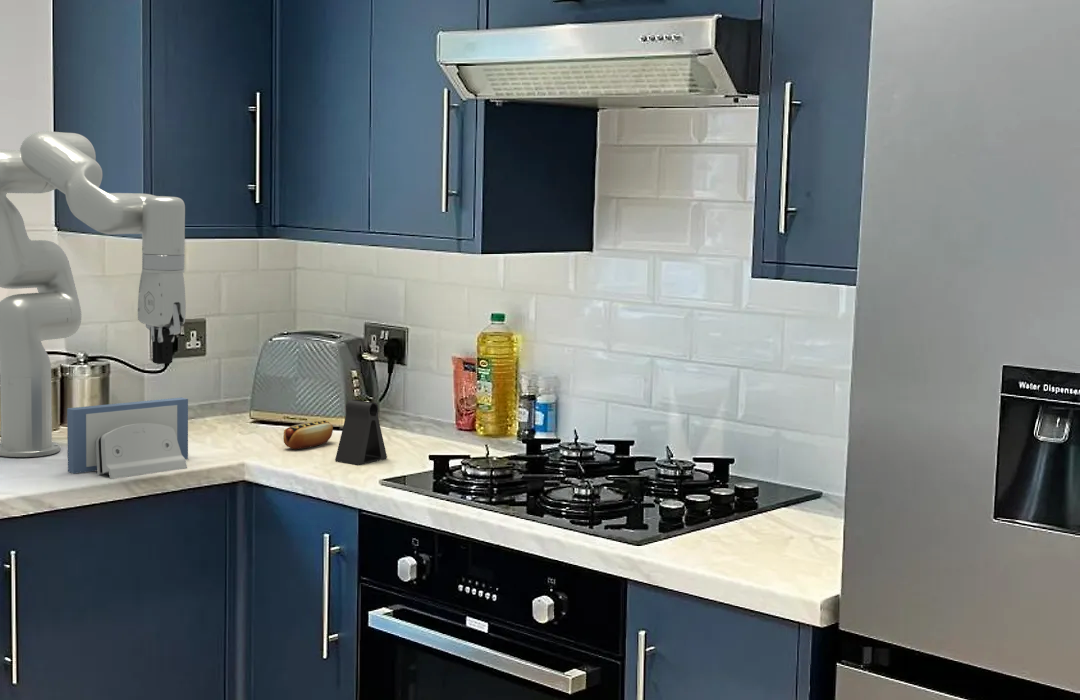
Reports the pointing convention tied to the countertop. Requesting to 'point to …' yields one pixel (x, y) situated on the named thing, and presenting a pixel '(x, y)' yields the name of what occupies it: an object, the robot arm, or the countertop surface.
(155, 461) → the hinge
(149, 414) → the cabinet side
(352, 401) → the dark grey a-frame stand
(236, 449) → the countertop surface
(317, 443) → the hot dog
